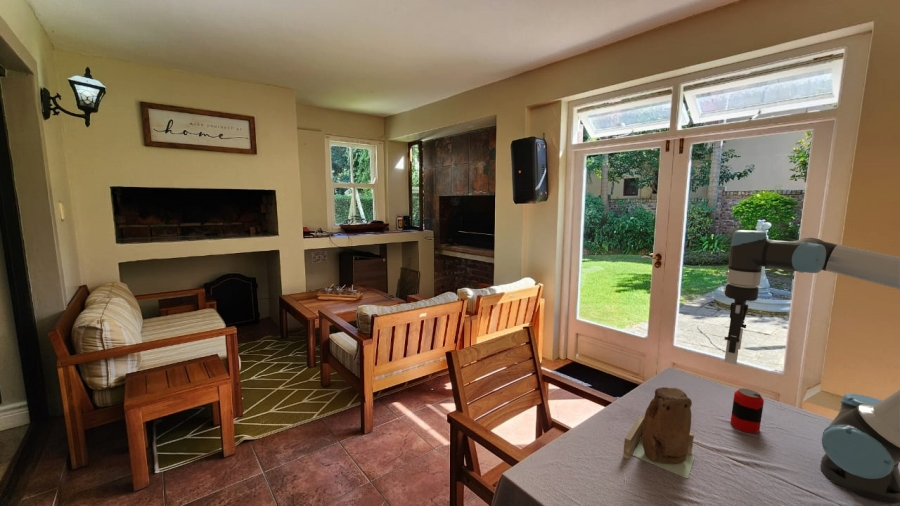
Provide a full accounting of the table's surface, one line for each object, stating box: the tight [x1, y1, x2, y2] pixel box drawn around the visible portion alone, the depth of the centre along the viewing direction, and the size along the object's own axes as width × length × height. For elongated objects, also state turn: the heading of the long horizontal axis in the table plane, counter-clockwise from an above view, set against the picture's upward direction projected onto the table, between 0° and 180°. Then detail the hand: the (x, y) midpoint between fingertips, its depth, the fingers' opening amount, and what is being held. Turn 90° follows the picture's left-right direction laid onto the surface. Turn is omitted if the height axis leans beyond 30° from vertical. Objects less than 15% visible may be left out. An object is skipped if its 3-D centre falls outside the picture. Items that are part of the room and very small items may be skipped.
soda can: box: [730, 387, 765, 434], centre depth 125 cm, size 8×8×12 cm
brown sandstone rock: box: [641, 386, 693, 464], centre depth 109 cm, size 11×8×20 cm
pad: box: [631, 436, 695, 479], centre depth 111 cm, size 14×11×1 cm
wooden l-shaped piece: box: [622, 415, 695, 460], centre depth 111 cm, size 15×16×6 cm
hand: (732, 355), depth 112 cm, fingers open, 13 cm apart
